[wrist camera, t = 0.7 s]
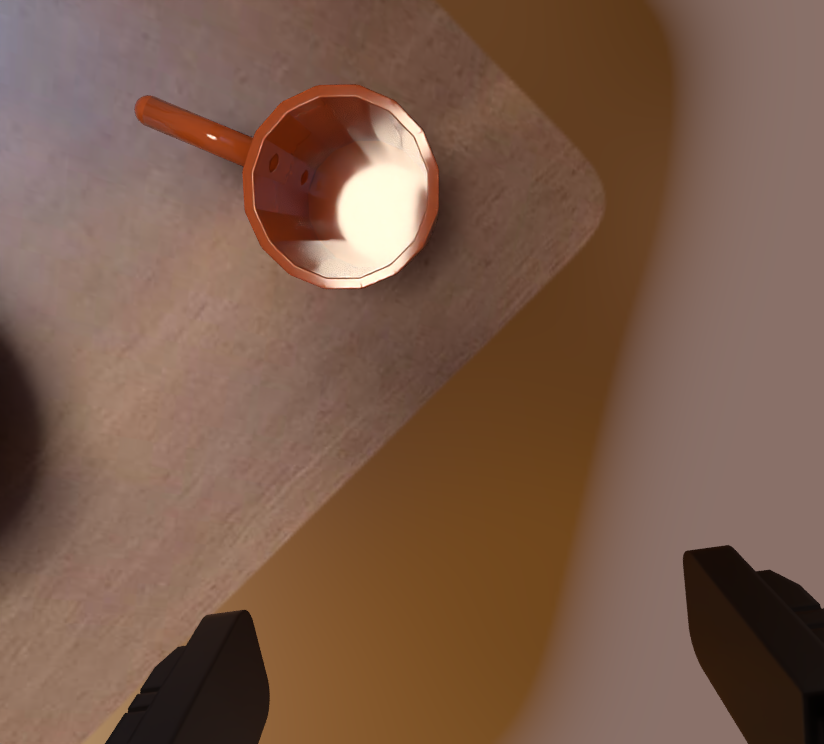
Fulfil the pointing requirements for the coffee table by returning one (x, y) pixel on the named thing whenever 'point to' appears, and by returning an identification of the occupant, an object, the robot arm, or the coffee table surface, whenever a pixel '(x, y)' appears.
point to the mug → (326, 181)
